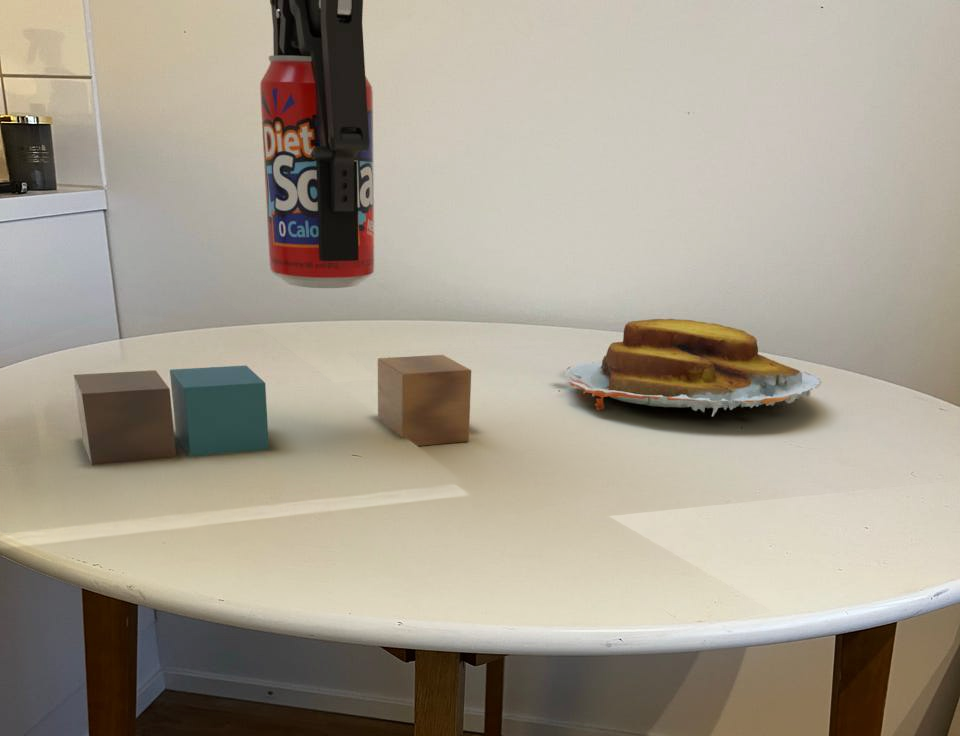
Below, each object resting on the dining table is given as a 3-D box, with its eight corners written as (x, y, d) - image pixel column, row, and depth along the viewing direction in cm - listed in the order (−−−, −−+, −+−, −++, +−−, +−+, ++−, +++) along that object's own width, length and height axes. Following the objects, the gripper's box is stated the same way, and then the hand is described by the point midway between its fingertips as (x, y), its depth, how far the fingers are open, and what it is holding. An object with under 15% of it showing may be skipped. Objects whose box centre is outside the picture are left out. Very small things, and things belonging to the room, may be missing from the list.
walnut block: (93, 476, 74) (81, 393, 71) (84, 452, 79) (73, 374, 76) (177, 468, 76) (169, 388, 73) (164, 446, 81) (156, 370, 78)
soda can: (351, 273, 82) (347, 61, 75) (390, 288, 76) (390, 59, 69) (257, 276, 79) (244, 54, 72) (290, 292, 73) (279, 51, 66)
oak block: (402, 447, 83) (402, 374, 80) (377, 428, 88) (377, 358, 85) (469, 441, 85) (471, 369, 83) (441, 423, 90) (443, 354, 88)
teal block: (191, 467, 77) (183, 387, 74) (176, 445, 81) (169, 369, 79) (269, 460, 79) (265, 382, 76) (251, 438, 84) (246, 365, 81)
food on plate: (593, 434, 89) (600, 358, 86) (537, 371, 111) (541, 308, 108) (864, 433, 93) (880, 360, 90) (758, 371, 114) (768, 311, 111)
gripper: (423, -140, 59) (418, 271, 70) (319, -90, 76) (328, 236, 86) (297, -159, 56) (312, 273, 67) (218, -103, 73) (240, 237, 83)
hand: (321, 252), depth 77 cm, fingers closed on soda can, 8 cm apart
